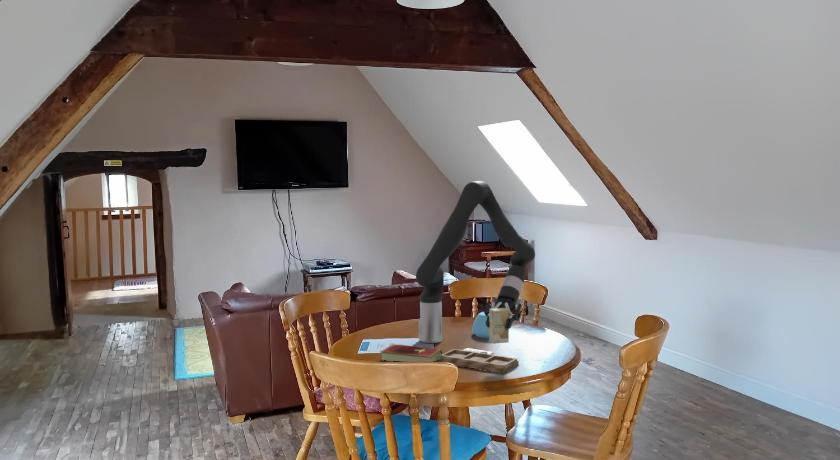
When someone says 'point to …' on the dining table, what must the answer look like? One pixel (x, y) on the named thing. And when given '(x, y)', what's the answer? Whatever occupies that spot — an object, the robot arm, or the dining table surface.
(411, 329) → the dining table surface
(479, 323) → the sugar bowl
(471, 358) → the socket board
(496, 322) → the skincare box
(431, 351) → the hardcover book
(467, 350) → the card
